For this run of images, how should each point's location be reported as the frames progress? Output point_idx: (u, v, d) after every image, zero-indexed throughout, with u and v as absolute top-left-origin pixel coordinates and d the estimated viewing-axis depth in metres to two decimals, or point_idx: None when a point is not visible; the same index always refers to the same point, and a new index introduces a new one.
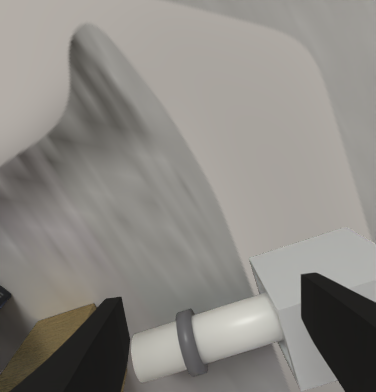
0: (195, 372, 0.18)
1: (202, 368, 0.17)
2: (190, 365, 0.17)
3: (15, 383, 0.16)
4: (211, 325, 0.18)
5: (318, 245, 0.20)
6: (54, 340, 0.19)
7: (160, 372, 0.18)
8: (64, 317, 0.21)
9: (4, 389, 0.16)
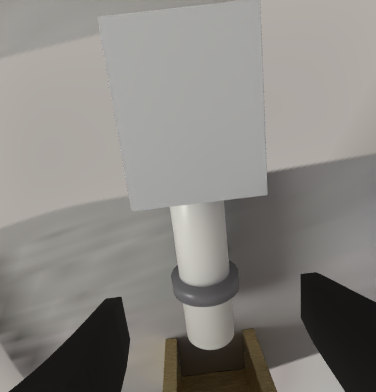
0: (219, 298, 0.15)
1: (216, 290, 0.15)
2: (206, 302, 0.15)
3: None
4: (179, 261, 0.16)
5: None
6: None
7: (215, 328, 0.16)
8: None
9: None
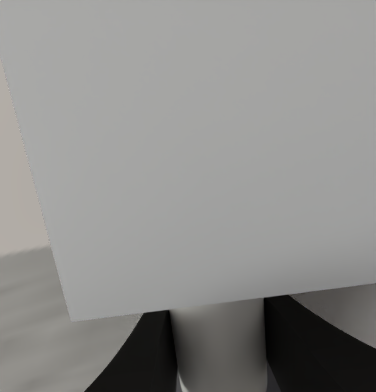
0: None
1: None
2: None
3: None
4: (181, 368, 0.09)
5: None
6: None
7: None
8: None
9: None
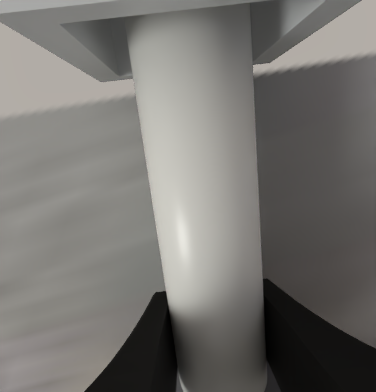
0: None
1: None
2: None
3: None
4: (180, 363, 0.09)
5: None
6: None
7: None
8: None
9: None
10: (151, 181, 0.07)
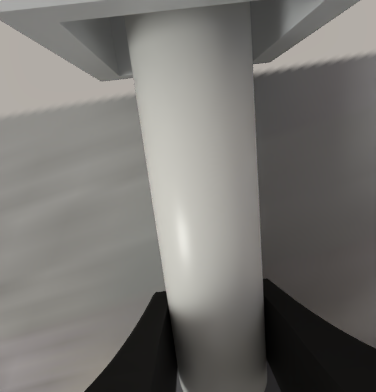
0: None
1: None
2: None
3: None
4: (180, 363, 0.09)
5: None
6: None
7: None
8: None
9: None
10: (151, 181, 0.07)
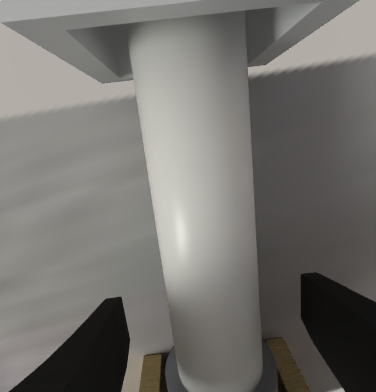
0: None
1: None
2: None
3: None
4: (179, 355, 0.09)
5: None
6: None
7: None
8: None
9: None
10: (151, 179, 0.08)
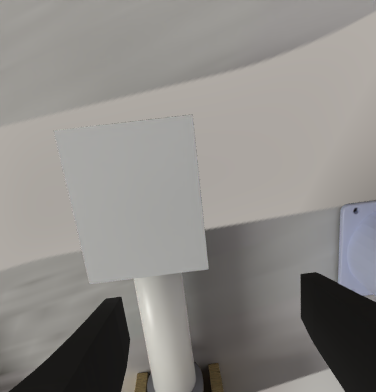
0: None
1: None
2: None
3: None
4: (152, 377, 0.19)
5: None
6: None
7: None
8: None
9: None
10: (138, 302, 0.18)
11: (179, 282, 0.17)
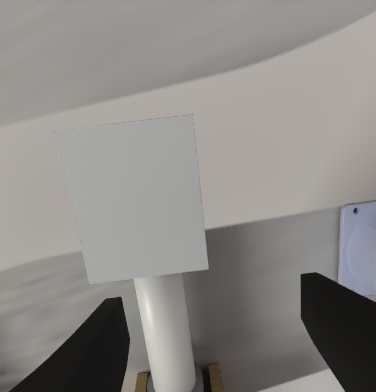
0: None
1: None
2: None
3: None
4: (152, 377, 0.19)
5: None
6: None
7: None
8: None
9: None
10: (138, 302, 0.18)
11: (179, 282, 0.17)
